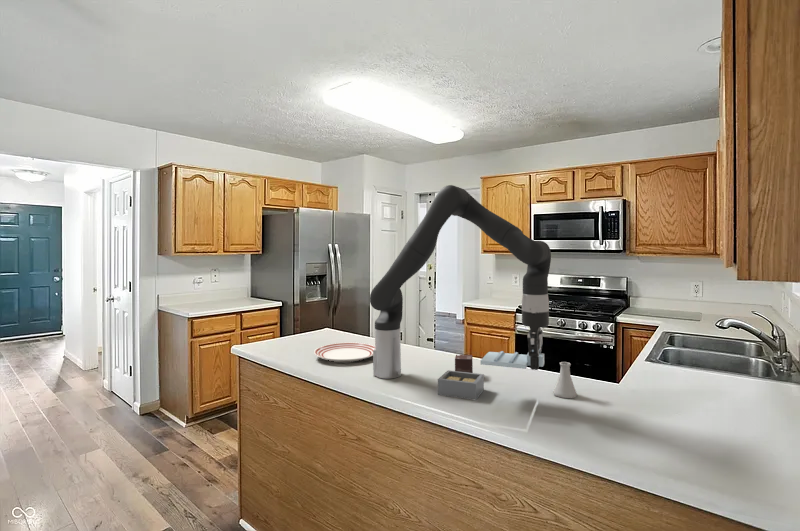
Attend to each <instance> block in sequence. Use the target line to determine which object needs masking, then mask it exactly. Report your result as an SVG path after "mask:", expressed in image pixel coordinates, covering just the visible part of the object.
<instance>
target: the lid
mask: <svg viewBox="0 0 800 531" xmlns="http://www.w3.org/2000/svg"><path fill="white" fill-rule="evenodd" d="M528 353H529V351H528V352H527V354H522V353H521V354H519V352H517V351H514V353H508V352H507V353H506V352H504V350H500V351H498V352H497V351H488V352H487V353H486V354H485V355H484V356H483V357H482V358H481V359H480V365H483V366H492V367H493V366H495V367H503V368H512V369H522V370H523V369H524V370H525V369H527V367H528V366H529V367H530V356H529V355H528ZM544 366H545V353H542V352H541V353H539V367H541V368H542V367H544Z"/></svg>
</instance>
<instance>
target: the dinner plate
mask: <svg viewBox="0 0 800 531" xmlns="http://www.w3.org/2000/svg"><path fill="white" fill-rule="evenodd" d="M374 349H375V345H373V344H369V343H364V342H363V343H362V342H336V343H329V344H324V345H322V346H319V347H317V348H315V349H314V350H313V354H314V355H315V356H317V357H318V358H319V359H323V360H326V361H328V360H329V362H331V361H334V362H333V363H340V362H345V363H353V362H352V361H356V362H360V361H364V360H367V359H368V358H371V357H373V350H374ZM363 359H364V360H363ZM359 360H360V361H359Z"/></svg>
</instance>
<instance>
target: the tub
mask: <svg viewBox="0 0 800 531" xmlns="http://www.w3.org/2000/svg"><path fill="white" fill-rule="evenodd" d="M449 376H453V377H461V381H458V380H450V379H447V378H448V377H449ZM484 376H485V374H484V373H475V372H473V373H468V372H459V371H455V370H450V369H449V370H446V371H445V372H444V373H443V374H442V375H441V376H440V377H439V378H437V395H438V396H443V397H444V396H445V397H450V398H459V399H467V400H474V401H477V399H478V398H479V397H480V395H481V394H482V393H483V391H484V390H485V389H484V388H485V387H484V386H485V382H484V381H485V378H484ZM464 378H470V379H476V380H475V381H474V382H466V381H462V380H463V379H464Z"/></svg>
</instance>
